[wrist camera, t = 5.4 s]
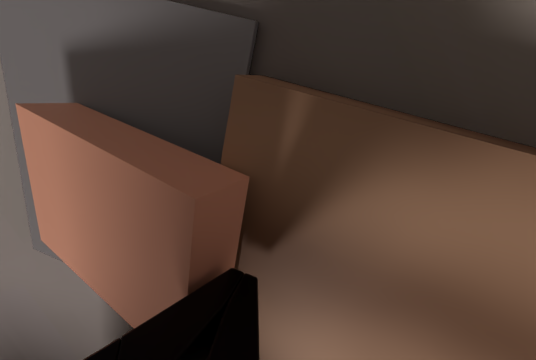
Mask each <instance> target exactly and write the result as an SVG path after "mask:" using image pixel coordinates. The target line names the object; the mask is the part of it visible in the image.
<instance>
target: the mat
mask: <svg viewBox="0 0 536 360" xmlns="http://www.w3.org/2000/svg"><path fill="white" fill-rule="evenodd" d="M258 24H259V23H258V22H257V21H255V20H250V19H246V18H242V17H237V16H233V15H229V14H224V13H220V12H216V11H211V10H207V9H203V8H198V7H194V6H190V5H186V4H181V3H177V2H173V1H168V0H0V57H1V63H2V69H3V75H4V81H5V87H6V92H7V98H8V104H9V110H10V116H11V122H12V128H13V133H14V139H15V145H16V151H17V157H18V163H19V168H20V174H21V180H22V186H23V192H24V198H25V203H26V209H27V215H28V221H29V227H30V233H31V238H32V244H33V249H35V250H37V251H40V252H42V253H44V254H46V255H49V256H51V257H53V258H55V259H58V260H60V261H62V260H61V259H60V258H59V257H58V256H57V255H56V254H55V253H54V252H53V251H52V250H51V249H50V248H49V247H48V246H47V245H46V244H45V243H44V242H43V241H41V237H40V232H39V227H38V222H37V216H36V211H35V206H34V200H33V195H32V190H31V184H30V179H29V174H28V168H27V163H26V158H25V152H24V147H23V142H22V137H21V131H20V126H19V121H18V115H17V110H16V105H15V103H79V104H81V105H83V106H86V107H88V108H90V109H93V110H95V111H97V112H100V113H102V114H104V115H107V116H109V117H111V118H114V119H116V120H118V121H121V122H123V123H125V124H128V125H130V126H132V127H135V128H137V129H139V130H142V131H144V132H146V133H149V134H151V135H153V136H156V137H158V138H160V139H163V140H165V141H167V142H170V143H172V144H174V145H177V146H179V147H181V148H184V149H186V150H188V151H191V152H193V153H195V154H198V155H200V156H202V157H205V158H207V159H209V160H212V161H214V162H216V163H219V164H221V158H222V152H223V146H224V140H225V134H226V128H227V122H228V116H229V110H230V104H231V98H232V92H233V86H234V80H235V75H249V72H250V67H251V61H252V56H253V50H254V45H255V40H256V34H257V29H258ZM62 262H63V261H62ZM64 263H65V262H64Z"/></svg>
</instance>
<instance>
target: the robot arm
mask: <svg viewBox="0 0 536 360" xmlns="http://www.w3.org/2000/svg"><path fill="white" fill-rule="evenodd" d="M84 360H260V354H259V306H258V279H257V277H255V276H252V275H250V274H247V273H245V274H244V272H242V271H240V270H237V269H235V268H230V269H229V270H227V271H225V272H224V273H222V274H221V275H219V276H217V277H216V278H214V279H213V280H211V281H209V282H208V283H206V284H205V285H203V286H201V287H200V288H198V289H197V290H195V291H193V292H192V293H190V294H189V295H187V296H185V297H184V298H182V299H181V300H179V301H177V302H176V303H174V304H173V305H171V306H169V307H168V308H166V309H165V310H163V311H161V312H160V313H158V314H157V315H155V316H153V317H152V318H150V319H149V320H147V321H145V322H144V323H142V324H141V325H139V326H137V327H136V328H134V329H133V330H131V331H129V332H128V333H126V334H125V335H123V336H122V337H121V339H120V338H118V339H116V340H115V341H113V342H112V343H110V344H108V345H107V346H105V347H104V348H102V349H100V350H99V351H97V352H95V353H94V354H92V355H90V356H89V357H87V358H85V359H84Z"/></svg>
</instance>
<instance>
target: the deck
mask: <svg viewBox="0 0 536 360" xmlns="http://www.w3.org/2000/svg"><path fill="white" fill-rule="evenodd" d="M221 165H223V166H226V167H228V168H230V169H233V170H235V171H237V172H240V173H242V174H244V175H247V176H249V177H250V178H249V184H248V190H247V196H246V202H245V208H244V213H243V219H242V225H241V231H240V237H239V243H238V249H237V255H236V261H235V267H234V268H235V269H237V270H240V271H242V272H244V274H245V273H247V274H250V275H252V276H255V277H257V279H258V306H259V354H260V360H536V148H534V147H530V146H526V145H523V144H519V143H515V142H511V141H508V140H504V139H500V138H496V137H493V136H489V135H485V134H481V133H478V132H474V131H470V130H466V129H463V128H459V127H455V126H451V125H447V124H444V123H440V122H436V121H432V120H429V119H425V118H421V117H417V116H414V115H410V114H406V113H402V112H399V111H395V110H391V109H387V108H383V107H380V106H376V105H372V104H368V103H365V102H361V101H357V100H353V99H350V98H346V97H342V96H338V95H335V94H331V93H327V92H323V91H320V90H316V89H312V88H308V87H304V86H301V85H297V84H293V83H289V82H286V81H282V80H278V79H274V78H271V77H267V76H263V75H235V80H234V86H233V92H232V98H231V104H230V110H229V116H228V122H227V128H226V134H225V140H224V146H223V152H222V158H221Z"/></svg>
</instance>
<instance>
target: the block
mask: <svg viewBox="0 0 536 360" xmlns="http://www.w3.org/2000/svg"><path fill="white" fill-rule="evenodd" d="M15 105H16V110H17V115H18V121H19V126H20V131H21V137H22V142H23V147H24V152H25V158H26V163H27V168H28V174H29V179H30V184H31V190H32V195H33V200H34V206H35V211H36V216H37V222H38V227H39V232H40V237H41V241H43V242H44V243H45V244H46V245H47V246H48V247H49V248H50V249H51V250H52V251H53V252H54V253H55V254H56V255H57V256H58V257H59V258H60V259H61V260H62V261H63V262H65V263H66V264H67V265H68V266H69V267H70V268H71V269H72V270H73V271H74V272H75V273H76V274H77V275H78V276H79V277H80V278H81V279H82V280H83V281H84V282H85V283H87V284H88V285H89V286H90V287H91V288H92V289H93V290H94V291H95V292H96V293H97V294H98V295H99V296H100V297H101V298H102V299H103V300H104V301H105V302H106V303H108V304H109V305H110V306H111V307H112V308H113V309H114V310H115V311H116V312H117V313H118V314H119V315H120V316H121V317H122V318H123V319H124V320H125V321H126V322H127V323H128V324H130V325H131V326H132V327H133V328H136V327H137V326H139V325H141V324H142V323H144V322H145V321H147V320H149V319H150V318H152V317H153V316H155V315H157V314H158V313H160V312H161V311H163V310H165V309H166V308H168V307H169V306H171V305H173V304H174V303H176V302H177V301H179V300H181V299H182V298H184V297H185V296H187V295H189V294H190V293H192V292H193V291H195V290H197V289H198V288H200V287H201V286H203V285H205V284H206V283H208V282H209V281H211V280H213V279H214V278H216V277H217V276H219V275H221V274H222V273H224V272H225V271H227V270H229V269H230V268H234V267H235V261H236V255H237V249H238V243H239V237H240V231H241V225H242V219H243V213H244V208H245V202H246V196H247V190H248V184H249V178H250V177H249V176H247V175H244V174H242V173H240V172H237V171H235V170H233V169H230V168H228V167H226V166H223V165H221V164H219V163H216V162H214V161H212V160H209V159H207V158H205V157H202V156H200V155H198V154H195V153H193V152H191V151H188V150H186V149H184V148H181V147H179V146H177V145H174V144H172V143H170V142H167V141H165V140H163V139H160V138H158V137H156V136H153V135H151V134H149V133H146V132H144V131H142V130H139V129H137V128H135V127H132V126H130V125H128V124H125V123H123V122H121V121H118V120H116V119H114V118H111V117H109V116H107V115H104V114H102V113H100V112H97V111H95V110H93V109H90V108H88V107H86V106H83V105H81V104H79V103H15Z"/></svg>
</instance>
